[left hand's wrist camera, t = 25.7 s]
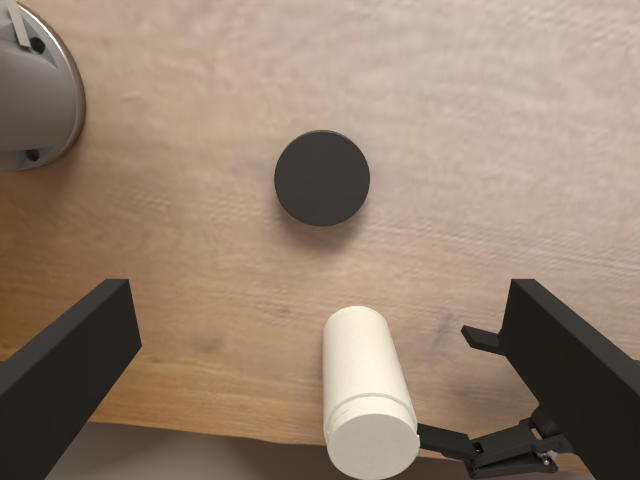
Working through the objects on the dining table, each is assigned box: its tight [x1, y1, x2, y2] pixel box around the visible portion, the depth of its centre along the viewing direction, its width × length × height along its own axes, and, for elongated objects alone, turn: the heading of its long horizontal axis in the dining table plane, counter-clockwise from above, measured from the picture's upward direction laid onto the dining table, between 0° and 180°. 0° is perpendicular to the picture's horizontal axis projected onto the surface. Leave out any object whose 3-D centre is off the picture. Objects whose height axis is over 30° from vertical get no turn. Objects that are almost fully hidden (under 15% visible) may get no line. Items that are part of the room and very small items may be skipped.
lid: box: [274, 130, 370, 226], centre depth 37 cm, size 9×9×2 cm
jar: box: [322, 306, 420, 480], centre depth 37 cm, size 8×8×16 cm
